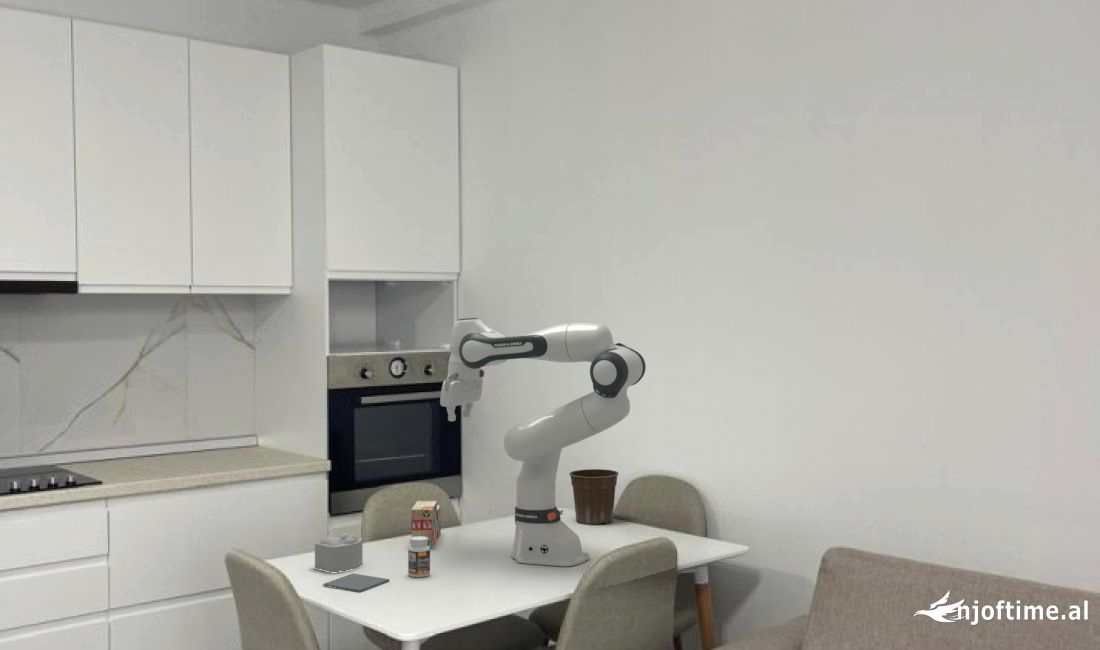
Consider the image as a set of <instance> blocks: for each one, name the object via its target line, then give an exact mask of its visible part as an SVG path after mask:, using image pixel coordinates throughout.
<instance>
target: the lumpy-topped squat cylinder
mask: <svg viewBox="0 0 1100 650" xmlns="http://www.w3.org/2000/svg"><path fill="white" fill-rule="evenodd" d="M361 565H362V566H363V538H362V537H360V536H357V535H356V534H351V533H348V532H344V533H342V534H340V535H336V534H335V533H329V534H328V535H326V537H323V538H322V539H320V540H317V541H316V542H314V569H315V568H317V569H322V570H326V571H329V572H339V571H346V570H350V569H355V568H358V567H360V566H361ZM362 566H361V567H362ZM361 567H360V568H361ZM358 569H359V568H358ZM355 570H356V569H355Z"/></svg>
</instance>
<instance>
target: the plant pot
mask: <svg viewBox="0 0 1100 650" xmlns="http://www.w3.org/2000/svg"><path fill="white" fill-rule="evenodd" d="M619 475H620V474H619V472H618V471H616V470H612V469H602V468H594V469H593V468H588V469H578V470H573V471H570V472H569V476H570V480H571V486H572V491H573V500H574V510H575V511H574V512H575V521H576V522H577V523H580V524H583V525H587V524H594V525H595V524H596V525H602V524H610V523H612V522H613V521H614V511H615V510H614V509H615V498H616V497H615V494H616V486H617V481H618V476H619Z"/></svg>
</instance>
